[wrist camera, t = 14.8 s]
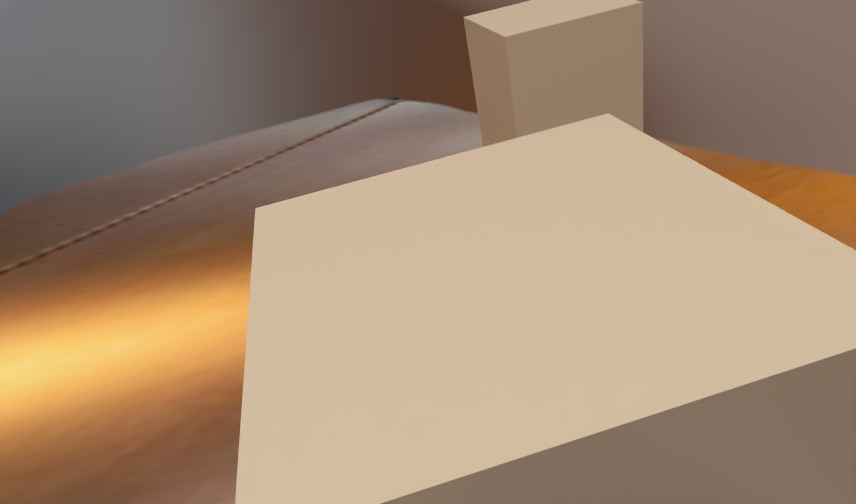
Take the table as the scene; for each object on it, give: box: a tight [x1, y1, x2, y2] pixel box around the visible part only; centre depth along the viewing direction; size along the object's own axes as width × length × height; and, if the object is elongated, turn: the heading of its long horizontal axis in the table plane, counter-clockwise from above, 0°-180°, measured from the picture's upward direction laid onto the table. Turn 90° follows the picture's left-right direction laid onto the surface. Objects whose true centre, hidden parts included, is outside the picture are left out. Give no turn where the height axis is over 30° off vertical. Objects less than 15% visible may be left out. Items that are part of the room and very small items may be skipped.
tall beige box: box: [464, 0, 643, 147], centre depth 30 cm, size 6×6×12 cm
